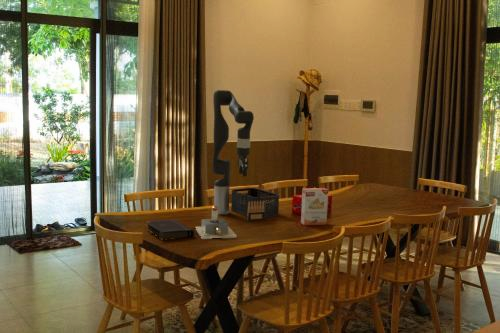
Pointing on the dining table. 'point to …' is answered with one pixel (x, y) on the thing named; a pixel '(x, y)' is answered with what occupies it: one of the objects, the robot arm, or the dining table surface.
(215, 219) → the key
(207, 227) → the grey stand
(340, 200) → the dining table surface
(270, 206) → the storage bin
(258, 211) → the ammunition clip
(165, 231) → the diary
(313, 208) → the cracker box
